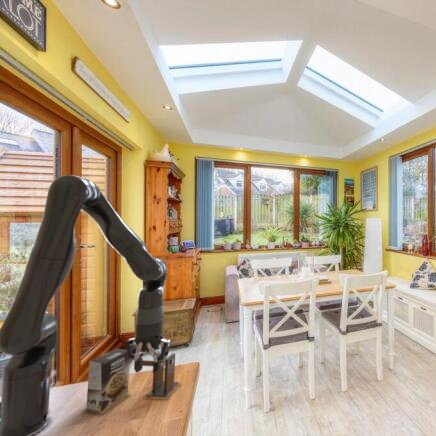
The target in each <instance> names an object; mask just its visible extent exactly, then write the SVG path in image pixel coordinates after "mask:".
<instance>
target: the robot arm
mask: <svg viewBox="0 0 436 436" xmlns="http://www.w3.org/2000/svg"><path fill="white" fill-rule="evenodd" d="M81 211H83V212H84V213H86V214H87V216H89V217H90V218H91V219H93V221H94V222H95V223H96V224H97V226H98V227H99V229H100V231H101V233H102V234H103V236H104V238H105V240H106V242H107V243H108V244H109V245H110V246H111V247H112V249H114V250H115V251H116V252H117V254H118V255H120V256H121V257H122V258H123V259H124V261H125V262H126V264H127V265H128V267H129V268H130V270H131V272H132V273H133V274H134V276H136V278H137V279H139V281H142V285H141V288H140V290H139V291H138V295H137V309H136V313H135V332H134V336H135V337H131V338H129V339H127V340H126V341H125V347H126V350H127V354H128V358H129V359H130V360H131V359H132V360H133V361H134V363H133V364H134V365H133V367H134V368H133V369H134V372H135V373H139V372H141V371H142V370H143V366H139V362H140V361H141V360H144V358H143V356H144V354H145V352H148V353H149V354H150V356H151V357H152V360H153V361H154V362H153V366H152V374H153V373H156V372H158V371H159V369H160V368H161V361H162V360H163V359H164V358H165V357H169V352H170V349H171V346H172V339H171V338H169V339H165V338H164V337H163V332H164V318H165V308H164V301H165V293H164V292H165V287H166V286H165V285H166V281H167V274H168V264H167V261H165V259H163V258H161V257H158V256H154V257H153V256H152V255H151V254H150V253H149V251H148V250H147V249H148V246H147V244H146V243H145V242H144V241H143V239H141V238H140V236H139V235H138V234H136V232H135V231H134V230H133V229H132V228H131V227H130V226H129V225H128V224H127V223H126V221H124V220H123V218H122V217H121V216H120V214H118V213H117V211H116V210H115V209H114V207H113V206H112V205H111V203H110V202H109V200H108V199H107V197H106V195H105V194H104V193H103V191H102V190H101V188H100V187H99V185H98V184H97V183H95V182H94V181H93V180H91V179H89V178H85V177H81V176H77V175H72V174H64V175H60V176H58V177H57V178H55V179H54V180H53V181H52V182H51V183H50V185H49V188H48V191H47V195H46V200H45V205H44V211H43V215H42V220H41V223H40V225H39V228H38V231H37V233H36V237H35V240H34V243H33V246H32V248H31V251H30V254H29V255H28V259H27V261H26V264H25V267H24V271H23V274H22V277H21V280H20V283H19V286H18V288H17V291H16V294H15V297H14V300H13V302H12V304H11V306H10V308H9V311H8V313H7V314H6V316H5V318H4V320H3V323H2V324H1V326H0V352H2V353H3V354H6V355H8V356H11V357H10V358H9V360H8V361H7V362H6V364H5V365H4V366H3V369H2V377H1V378H2V379H1V395H0V436H34V435H36V434H37V433H39V432H41V431H42V430H43V429H45V428H46V427H47V426H48V424H49V420H50V419H49V415H50V414H51V409H50V392H51V375H52V374H51V371H52V360H53V358H54V355H55V354H56V349H57V341H58V340H57V339H58V331H59V330H58V328H59V327H58V320H57V318H56V316H55V315H54V314H52V313H50V312H48V311H47V310H48V307H49V305H50V303H51V301H52V299H53V298H54V297H55V295H56V293H57V292H58V290H60V289H61V287H62V285H63V284H64V282H65V281H66V280H67V278H68V276H69V275H70V272H71V270H72V267H73V264H74V261H75V258H76V255H77V250H78V249H77V248H78V247H77V239H76V238H77V237H76V224H77V220H78V218H79V215H80V212H81Z"/></svg>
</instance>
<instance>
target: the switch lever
mask: <svg viewBox="0 0 436 436" xmlns="http://www.w3.org/2000/svg"><path fill="white" fill-rule="evenodd" d="M168 357H169V356H167V357H165V358H164V359H163V360H162V361H161V365H164V366H165V360H166V359H167V358H168ZM153 362H154V360H147V359H145V360H144V359H143V360H141V361H140V362H139V366H142V367H153Z"/></svg>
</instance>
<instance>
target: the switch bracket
mask: <svg viewBox="0 0 436 436" xmlns="http://www.w3.org/2000/svg"><path fill="white" fill-rule="evenodd" d="M167 357H168V358H167V359H166V360H165V365H161V368H160V369H159V371H158V372H156V373H153V372H152V389H150V391H149V392H148V393H147V394H146V395H145V396H146V397H157V398H167V397H168V396H169V394H171V392H172V391H173V390H174V389H175V388H176V387H177V386H178V385H179V384H180V381H175V371H176V370H175V369H176V353H171V354H170V355H168V356H167Z"/></svg>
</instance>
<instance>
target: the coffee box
mask: <svg viewBox="0 0 436 436" xmlns="http://www.w3.org/2000/svg"><path fill="white" fill-rule="evenodd" d="M88 365H89V366H88V378H87V379H88V380H87V392H86V409H87V410H91V411H95V412H100V413H102V412H103V411H105V410H107V409H108V408H109V407H111V406H112V405H114V404H116V403H117V402H118V401H120V400H121V399H123V398H125V397H126V396H127V395H128V394H129V385H130V382H129V381H130V366H131V359H129V358H128V354H127V349H123V348H114V349H112V350H109V351H108V352H106V353H104V354H102V355H99V356H97V357H95V358H93V359H90V360H89V363H88Z"/></svg>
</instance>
